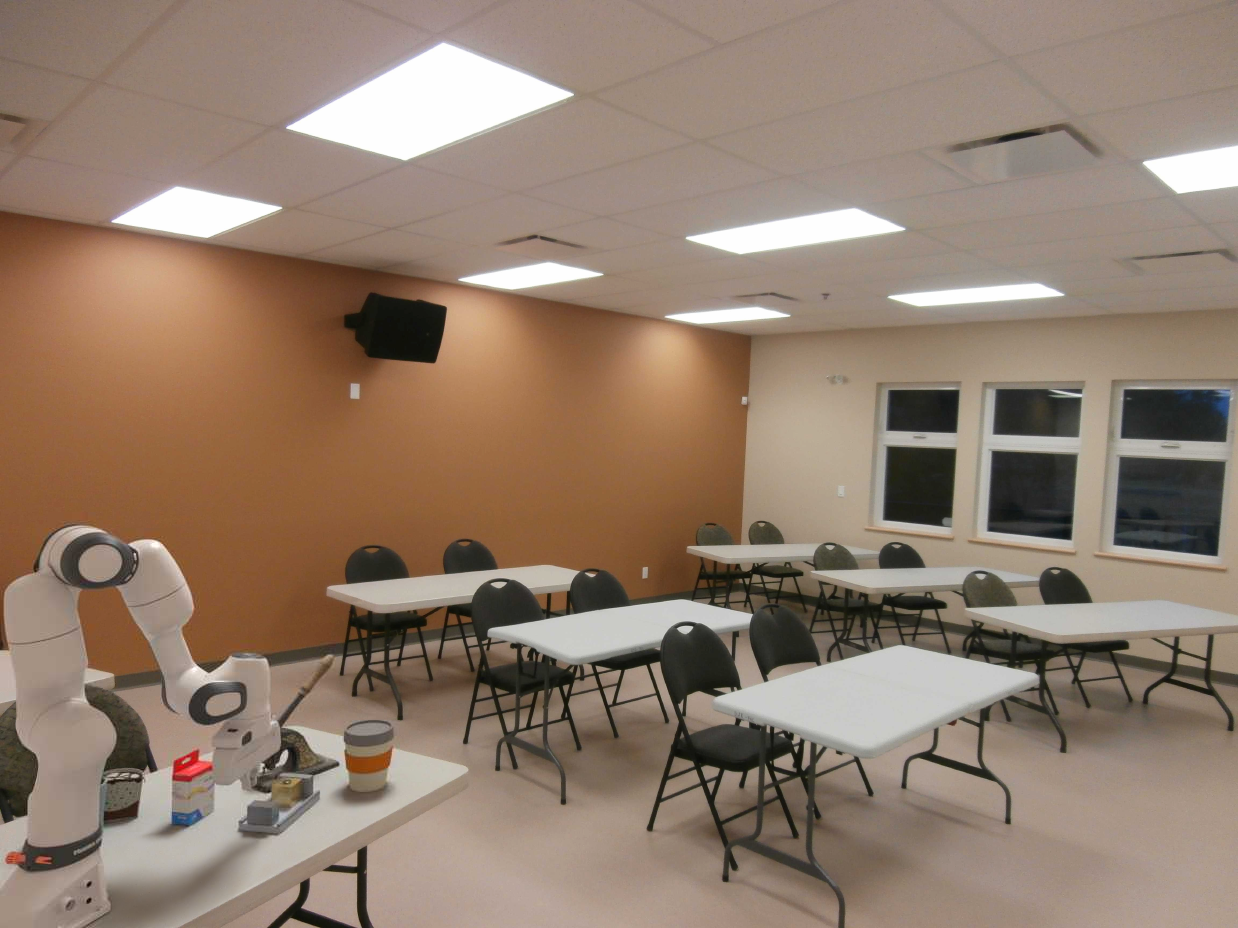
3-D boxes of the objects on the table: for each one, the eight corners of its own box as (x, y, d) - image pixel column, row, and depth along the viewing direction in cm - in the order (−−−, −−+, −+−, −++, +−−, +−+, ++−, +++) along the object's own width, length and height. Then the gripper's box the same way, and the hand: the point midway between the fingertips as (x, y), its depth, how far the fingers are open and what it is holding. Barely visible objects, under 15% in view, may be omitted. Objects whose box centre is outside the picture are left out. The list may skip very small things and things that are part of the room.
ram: (271, 825, 177) (271, 807, 177) (246, 823, 178) (247, 805, 178) (281, 816, 181) (282, 799, 181) (257, 814, 182) (257, 797, 182)
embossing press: (240, 783, 203) (242, 668, 202) (321, 755, 222) (323, 650, 222) (264, 794, 197) (266, 676, 196) (345, 765, 216) (347, 657, 216)
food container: (149, 805, 189) (149, 764, 189) (144, 816, 184) (145, 774, 183) (89, 813, 185) (89, 771, 184) (82, 824, 179) (83, 781, 179)
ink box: (189, 826, 179) (190, 763, 179) (170, 824, 180) (171, 760, 180) (215, 810, 188) (216, 749, 187) (197, 807, 189) (198, 747, 188)
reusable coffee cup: (355, 772, 211) (356, 717, 210) (400, 775, 209) (401, 720, 209) (333, 793, 198) (334, 734, 198) (381, 796, 197) (382, 737, 197)
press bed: (279, 833, 177) (280, 804, 177) (238, 829, 178) (239, 801, 178) (319, 798, 195) (320, 772, 195) (282, 795, 196) (282, 769, 196)
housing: (301, 798, 191) (302, 777, 191) (290, 808, 186) (291, 786, 186) (282, 797, 192) (282, 776, 192) (271, 806, 187) (271, 784, 187)
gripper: (262, 708, 183) (262, 766, 184) (206, 742, 163) (206, 807, 163) (287, 709, 182) (288, 768, 183) (234, 744, 162) (234, 809, 162)
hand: (249, 787), depth 173 cm, fingers closed
